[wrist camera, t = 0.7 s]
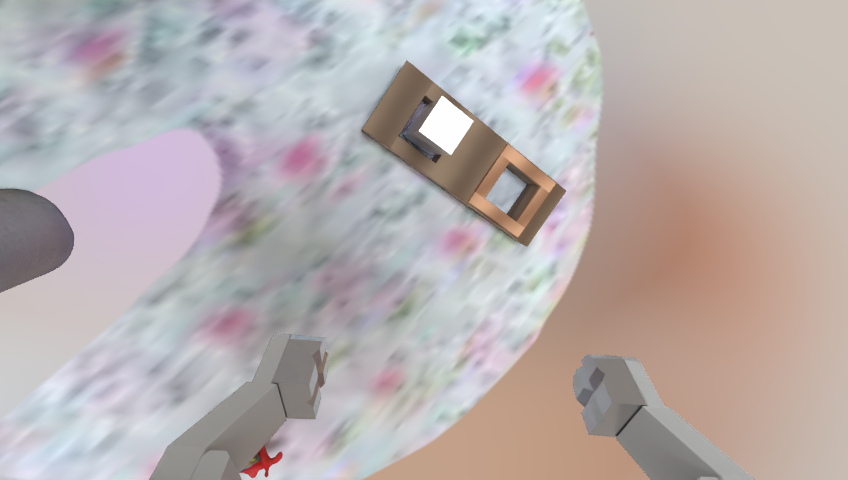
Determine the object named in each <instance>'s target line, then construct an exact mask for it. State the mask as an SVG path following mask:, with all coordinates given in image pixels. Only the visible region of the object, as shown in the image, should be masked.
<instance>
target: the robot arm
mask: <svg viewBox="0 0 848 480" xmlns="http://www.w3.org/2000/svg"><path fill="white" fill-rule="evenodd" d="M326 346H327V342H326V338H324V337H313V336H301V335H290V334H276V333H275V335H274V336H273V337H272V338H271V340H270V343H269V345H268V347H267V349H266V352H265V354H264V356H263V358H262V361H261V363H260V365H259V367H258V370H257V372H256V374H255V377H254V379H253V381H252V382H246V383H245V384H244V385H243V386H241V387H240V388H239V389H238V390H236V391H235V392H234V393H233V394H231V395H230V396H229V397H228V398H227V399H225V400H224V401H223V402H222V403H220V404H219V405H218V406H217V407H215V408H214V409H213V410H212V411H211V412H209V413H208V414H207V415H206V416H204V417H203V418H202V419H201V420H199V421H198V422H197V423H196V424H195V425H193V426H192V427H191V428H190V429H188V430H187V431H186V432H185V433H183V434H182V435H181V436H180V437H179V438H177V439H176V440H175V441H174V442H172V443H171V444H170V445H169V446H168V447H167V449H166V451H165V452H164V454H163V456H162V458H161V459H160V461H159V463H158V465H157V467H156V468H155V470H154V472H153V474H152V475H151V477H150V479H149V480H242V479H241V477H240V475H239V473H240V472H241V471H242V470H243V468H244V467H245V466H246V465H247V464H248V463H249V462H250V461H251V460H252V458H253V457H254V456H255V455H256V454H257V453H258V452H259V451H260V449H261V448H262V447H263V446H264V445H265V444H266V443H267V442H268V440H269V439H270V438H271V437H272V436H273V435H274V434H275V433H276V431H277V430H278V429H279V428H280V427H281V426H282V425H283V424H284V422H285V421H286V420H287V419H286V418H297V419H316V415H317V411H318V408H319V404H320V400H321V393H320V388H321V387H322V386H323V385H324V384H325V381H326V377H327V371H328V353H327V352H326V351H325V350H326ZM582 364H583V366H582V367H580V368H578V369H577V370H576V372H575V374H574V376H573V389H574V393H575V396H576V399H577V400H578V401H579V402H580V403H581V404H582V405H583V406H584V407H583V410H582V413H581V414H582V417H583V419H584V422H585V425H586V428H587V431H588V434H589V435H598V436H610V437H617V438H616V439H617V441H618V442H619V443H620V444H621V445H622V446H623V448H624V449H625V450H626V451H627V452H628V453H629V455H630V456H631V457H632V458H633V459H634V460H635V462H636V463H637V464H638V465H639V466H640V467H641V469H642V470H643V471H644V472H645V473H646V475H647V476H648V477H649V478H650V479H651V480H755V479H754V478H753V477H752V476H751V475H749V474H748V473H747V472H746V471H745V470H743V469H742V468H741V467H740V466H739V465H737V464H736V463H735V462H734V461H733V460H732V459H730V458H729V457H728V456H727V455H726V454H725V453H723V452H722V451H721V450H720V449H719V448H717V447H716V446H715V445H714V444H713V443H711V442H710V441H709V440H708V439H707V438H705V437H704V436H703V435H702V434H701V433H700V432H698V431H697V430H696V429H695V428H694V427H692V426H691V425H690V424H689V423H688V422H686V421H685V420H684V419H683V418H682V417H680V416H679V415H678V414H677V413H676V412H674V411H673V410H672V409H671V408H668V407H665V406H664V404H663V402H662V401H661V399H660V397H659V395H658V393H657V392H656V390H655V388H654V386H653V384H652V382H651V381H650V379H649V377H648V375H647V373H646V372H645V370H644V368H643V366H642V364H641V362H640V361H639V360H638V359H637V358H635V357H621V356H609V355H592V354H591V355H590V354H588V355H586V356H584V358H583V359H582Z"/></svg>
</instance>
